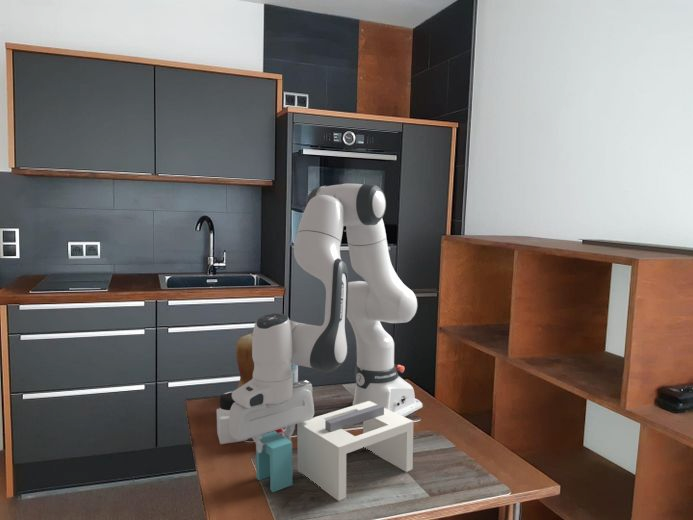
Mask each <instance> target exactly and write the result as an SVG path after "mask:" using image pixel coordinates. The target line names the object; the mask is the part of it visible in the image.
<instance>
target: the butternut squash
mask: <svg viewBox="0 0 693 520" xmlns="http://www.w3.org/2000/svg"><path fill="white" fill-rule="evenodd" d="M252 339H253V332H252V333H251V332H250V333H249V334H245V335H243V336H241V337H240V338H239V339H238V340H237V342H236V351H235V352H236V353H235V354H236V356H235V357H236V361H237V366H238V367H237V368H238V371H239V381H238V384H237V388H239V387H241V386H243V385H244V384H246V383H247V382H249V381H250V380H252V379H253V371H254V361H253V358H252Z"/></svg>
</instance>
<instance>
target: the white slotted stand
mask: <svg viewBox="0 0 693 520" xmlns="http://www.w3.org/2000/svg"><path fill="white" fill-rule="evenodd" d="M360 423H362V434H361V433H360V434H358V435H354V434H352V433H350V432H348V431H346V430H344V428H347V427H351V426H354V425H357V424H360ZM296 425H297V427H296V428H297V433H296V435H297V437H296V438H297V441H296V442H297V444H296V445H297V472H298V471H299V472H298V473H300V472H301V473H302V474H304V475H305V476H306V477H308V478H309V479H310V480H309V479H308V478H307V479H308V480H309V481H311V480H312V481H313V482H314V483H313V482H312V481H311V482H312V483H313V484H315V483H316V484H317V485H318V486H317V485H316V484H315V485H316V486H317V487H319V486H320V487H321V488H320V487H319V488H320V489H322V490H323V491H324V492H326V493H327V494H329V496H331V497H333V498H334V499H335V500H337V502H338V501H339V502H340V501H343V500H344V499H346V498H347V454H349V453H352V452H355V451H357V450H361V449H365V448H366V450H367V449H368V450H370V451H372V452H373V453H372V452H371V453H372V454H374V453H375V454H374V455H376V456H377V455H378V456H377V457H379V458H381V459H382V460H385V461H386V462H388V463H390V464H392V465H393V466H395V467H396V468H399V469H400V470H402V471H404V472H406V473H408V472H410V471H412V470H413V463H414V460H413V459H414V457H413V456H414V455H413V454H414V420H412V419H410V418H407V416H405V417H403V416H401V415H399V414H397V413H395V412H393V411H390V410H388V409H386V408H384V407H383V406H381V405H379V404H378V405H377V404H375V403H373V402H371V401H367V402H364V403H360V404H357V405H354V406H352V405H351V406H347V407H344V408H341V409H338V410H337V409H336V410H333V411H330V412H328V413H324V414H322V415H321V414H320V415H317V416H313V417H312V419H311V420H307V421H304V422H301V423H298V424H296ZM363 447H364V448H363ZM368 450H367V451H368ZM370 451H369V452H370ZM301 473H300V474H301ZM302 474H301V475H302ZM304 475H303V476H304ZM305 476H304V477H305ZM306 477H305V478H306Z"/></svg>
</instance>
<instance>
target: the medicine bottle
mask: <svg viewBox="0 0 693 520" xmlns="http://www.w3.org/2000/svg"><path fill="white" fill-rule="evenodd" d="M232 392H233V391H228V392H224V393H223V394H220V396H219V408H216V434H217V437H218V441H219V444H220V445H225V444H232V443H239V442H246V440H247V441H248V439H245V440H242V441H238V440H236V439H235V438H233V437H232V436H231V435H230V433H229V415H230V409H231V406H232V405H233V403H234V402H235V401H234V400H233V399H232Z"/></svg>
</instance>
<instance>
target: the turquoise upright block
mask: <svg viewBox="0 0 693 520" xmlns="http://www.w3.org/2000/svg"><path fill="white" fill-rule="evenodd" d="M259 440H260V441H261V442H263V443H265V444H266V451H265V452H262V453H259V452H257V449H256V448H255V461H256V462H255V463H256V470H255V471H256V472H255V473H256V479H257V480H258V481H262V480H264V479H267V478H270V479H269V480H270V481H269V483H270V484H269V485H270V486H269V487H270V489H269V490H270V491H271V492H272V493H275V492H278V491H280V490H283V489H286V488H288V487H290V486H293V485H294V482H293V442H292V440H291V441H289V440H288V439H286V438H285V437H283V436H282V435H280V434H279V433H277V432H276V431H273V432H270V433H267V434H263V435H262V438H261V439H259Z"/></svg>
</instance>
